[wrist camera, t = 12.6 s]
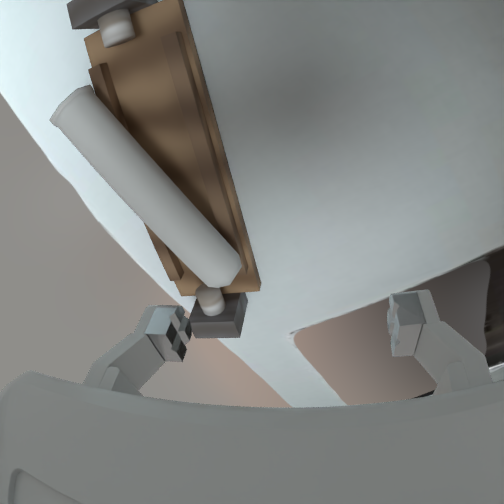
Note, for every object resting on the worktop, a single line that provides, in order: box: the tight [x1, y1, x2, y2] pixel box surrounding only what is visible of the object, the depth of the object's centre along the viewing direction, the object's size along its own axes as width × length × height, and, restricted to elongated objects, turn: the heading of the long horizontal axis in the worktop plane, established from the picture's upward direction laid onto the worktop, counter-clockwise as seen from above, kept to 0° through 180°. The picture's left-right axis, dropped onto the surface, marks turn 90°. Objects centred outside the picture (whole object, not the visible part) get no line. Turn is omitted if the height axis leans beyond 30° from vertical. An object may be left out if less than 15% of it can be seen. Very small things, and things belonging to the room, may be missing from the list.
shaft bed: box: [67, 0, 261, 338], centre depth 30 cm, size 41×11×6 cm, turn 13°
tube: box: [50, 85, 242, 288], centre depth 29 cm, size 5×5×25 cm
